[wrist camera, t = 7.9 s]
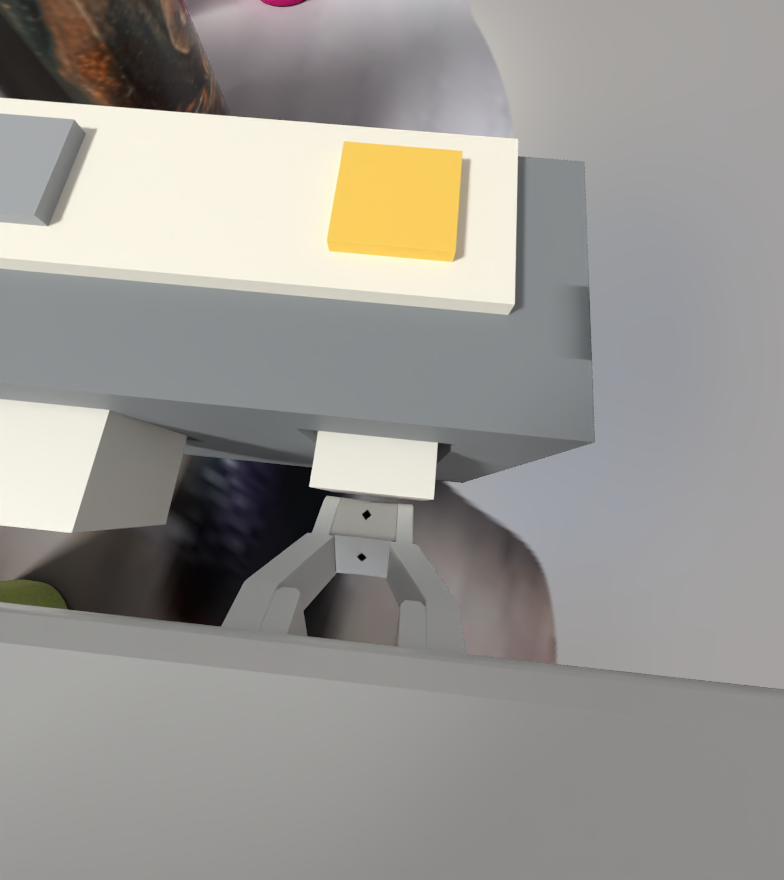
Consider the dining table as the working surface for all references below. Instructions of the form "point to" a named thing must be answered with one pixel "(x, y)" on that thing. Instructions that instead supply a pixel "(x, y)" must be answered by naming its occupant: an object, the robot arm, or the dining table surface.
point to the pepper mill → (281, 2)
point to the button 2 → (374, 466)
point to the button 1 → (84, 468)
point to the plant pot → (31, 594)
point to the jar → (106, 55)
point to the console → (295, 283)
